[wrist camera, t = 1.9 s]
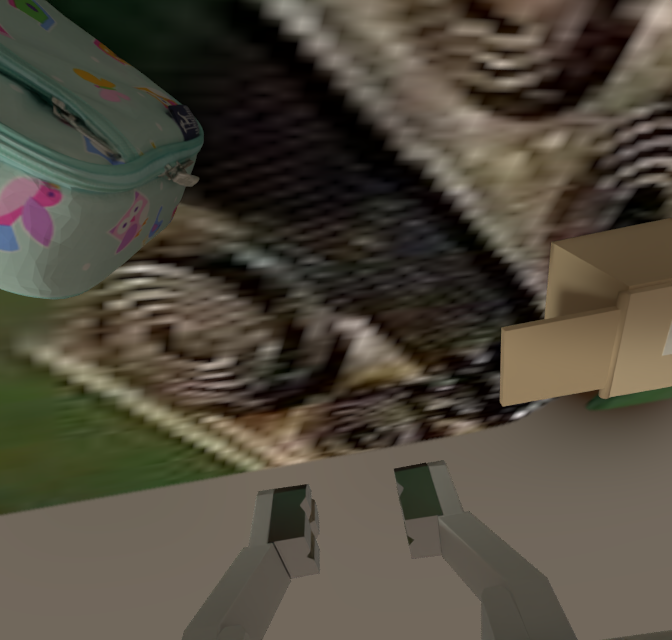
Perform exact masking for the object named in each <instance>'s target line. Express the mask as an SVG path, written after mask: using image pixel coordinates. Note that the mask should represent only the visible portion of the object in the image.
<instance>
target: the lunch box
mask: <svg viewBox="0 0 672 640" xmlns="http://www.w3.org/2000/svg"><path fill="white" fill-rule="evenodd" d="M203 138H204V132H203V129H202V127H201V125H200V123H199V122H198V120H197V119H196V118H195V117H194V115H193V114H192V112H191V111H190V109H189V108H188V107H187V105H182V104H181V103H179V102H178V101H177V100H176V99H175V98H173V97H172V96H171V95H169V94H168V93H167V92H165V91H164V90H163V89H162V88H160V87H159V86H158V85H156V84H155V83H154V82H153V81H151V80H150V79H149V78H148V77H146V76H145V75H144V74H142V73H141V72H140V71H138V70H137V69H135V68H134V67H133V66H131V65H130V64H128V63H127V62H125V61H124V60H122V59H121V58H119V57H118V56H117V55H116V54H114V53H113V52H112V51H111V50H110V49H108V48H107V47H106V46H105V45H103V44H102V43H101V42H100V41H98V40H97V39H95V38H94V37H93V36H91V35H90V34H88V33H87V32H86V31H84V30H83V29H81V28H80V27H79V26H77V25H76V24H75V23H73V22H72V21H70V20H69V19H68V18H66V17H65V16H64V15H62V14H61V13H60V12H59V11H58V10H57V9H55V8H54V7H53V6H52V5H51V4H49V3H48V2H47V1H46V0H0V289H2V290H5V291H8V292H12V293H16V294H19V295H23V296H29V297H35V298H45V299H65V298H69V297H73V296H77V295H80V294H82V293H84V292H86V291H88V290H89V289H91V288H92V287H94V286H95V285H97V284H98V283H100V282H101V281H102V280H104V279H105V278H106V277H107V276H109V275H110V274H111V273H112V272H114V271H115V270H116V269H117V268H119V267H120V266H121V265H122V264H124V263H125V262H126V261H127V260H128V259H129V258H130V257H131V256H133V255H134V254H135V253H136V252H137V251H138V250H139V249H140V248H142V247H143V246H144V245H145V244H146V243H147V242H148V241H150V240H151V239H152V238H154V237H155V236H156V235H157V234H158V233H160V232H161V231H162V230H163V229H164V228H165V227H166V226H167V225H168V224H169V223H170V222H171V220H172V219H173V216H174V214H175V212H176V209H177V206H178V204H179V202H180V201H181V199H182V196H183V193H184V190H185V187H186V186H188V187H192V186H193V185H194V184H196V183H197V182H198V181H199V177H197V176H194V175H190V174H191V172H192V170H193V167H194V164H195V161H196V157H197V153H198V152H199V151H200V149H201V147H202V145H203V142H204V139H203Z"/></svg>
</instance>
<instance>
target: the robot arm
mask: <svg viewBox="0 0 672 640" xmlns="http://www.w3.org/2000/svg"><path fill="white" fill-rule="evenodd" d="M394 474H395V479H396V484H397V490H398V495H399V501H400V506H401V510H402V515H403V520H404V524H405V529H406V534H407V539H408V544H409V548H410V552H411V557H412V559H416V558H423V557H431V556H439V555H442V557H443V558H444V559H445V561H446V562H447V563H448V564H449V565H450V566H451V567H452V568H453V570H454V571H455V572H456V573H457V574H458V576H459V577H460V578H461V579H462V580H463V581H464V582H465V584H466V585H467V586H468V587H469V588H470V589H471V590H472V592H473V593H474V594H475V595H476V596H477V597H478V598H479V600H480V601H481V640H577V638H576V636H575V633H574V631H573V630H572V627H571V625H570V623H569V621H568V619H567V617H566V615H565V613H564V611H563V609H562V607H561V605H560V603H559V601H558V599H557V597H556V595H555V593H554V591H553V589H552V587H551V585H550V583H549V581H548V578H547V577H546V576H545V575H543V574H542V573H541V572H540V571H539V570H538V569H536V568H535V567H534V566H533V565H532V564H530V563H529V562H528V561H527V560H526V559H525V558H523V557H522V556H521V555H520V554H519V553H518V552H516V551H515V550H514V549H513V548H512V547H510V546H509V545H508V544H507V543H506V542H505V541H504V540H502V539H501V538H500V537H499V536H498V535H497V534H495V533H494V532H493V531H492V530H490V529H489V528H488V527H487V526H486V525H485V524H484V523H482V522H481V521H480V520H479V519H478V518H477V517H475V516H474V515H473V514H472V513H471V512H470V511H467V512H464V511H463V508H462V505H461V503H460V500H459V497H458V494H457V492H456V489H455V486H454V484H453V481H452V478H451V475H450V472H449V470H448V467H447V464H446V463H445V461H444V460H441V461H436V462H430V463H427V464H426V463H422V464H416V465H411V466H406V467H401V468H395V469H394ZM318 535H319V517H318V510H317V505H316V502H315V500H313V499H312V498H311V489H310V486H309V484H305V485H298V486H292V487H284V488H278V489H271V490H265V491H259V492H258V495H257V497H256V502H255V509H254V515H253V521H252V527H251V533H250V540H249V546H248V547H245V548H243V549H242V551H241V552H240V553H239V555H238V556H237V558H236V559H235V560H234V562H233V563H232V565H231V566H230V567H229V569H228V570H227V572H226V573H225V574H224V576H223V577H222V579H221V580H220V581H219V583H218V584H217V586H216V587H215V588H214V590H213V591H212V593H211V594H210V596H209V597H208V598H207V600H206V601H205V603H204V604H203V605H202V607H201V608H200V609H199V611H198V612H197V614H196V615H195V616H194V618H193V619H192V621H191V622H190V623H189V625H188V626H187V628H186V629H185V630H184V633H183V637H182V640H262V639H263V637H264V635H265V633H266V631H267V629H268V627H269V625H270V623H271V621H272V618H273V616H274V614H275V612H276V610H277V608H278V606H279V604H280V602H281V600H282V598H283V596H284V594H285V592H286V590H287V588H288V586H289V584H290V582H291V580H290V579H291V578H297V577H303V576H307V575H313V574H319V572H320V563H319V562H320V549H319V546H318V543H317V541H316V538H317V537H318ZM604 640H672V630H669V631H661V632H654V633H647V634H641V635H633V636H625V637H618V638H611V639H604Z"/></svg>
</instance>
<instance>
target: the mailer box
mask: <svg viewBox="0 0 672 640" xmlns="http://www.w3.org/2000/svg"><path fill="white" fill-rule="evenodd" d="M669 282H672V218H668V219H663V220H658V221H653V222H648V223H643V224H638V225H633V226H628V227H623V228H618V229H614V230H609V231H604V232H599V233H594V234H589V235H584V236H579V237H574V238H569V239H564V240H559V241H554V242H551V251H550V263H549V274H548V286H547V297H546V308H545V319H549V318H554V317H559V316H565V315H570V314H575V313H580V312H586V311H591V310H596V309H601V308H607V307H612V306H616V301H617V296H618V292H619V291H627V290H632V289H638V288H643V287H648V286H653V285H658V284H664V283H669Z"/></svg>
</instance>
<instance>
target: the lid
mask: <svg viewBox="0 0 672 640" xmlns="http://www.w3.org/2000/svg"><path fill="white" fill-rule="evenodd" d="M670 386H672V282H669V283H664V284H658V285H653V286H648V287H643V288H638V289H632V290H627V291H619V292H618V296H617V301H616V306H612V307H607V308H601V309H596V310H591V311H586V312H580V313H575V314H570V315H565V316H559V317H554V318H549V319H544V320H538V321H533V322H528V323H523V324H518V325H512V326H507V327H502V332H501V377H500V403H501V404H502V406H508V405H514V404H519V403H525V402H530V401H536V400H542V399H547V398H553V397H558V396H564V395H570V394H575V393H581V392H586V391H592V390H597V389H599V397H601V398H604V399H607V398H609V397H614V396H619V395H625V394H630V393H636V392H642V391H647V390H653V389H659V388H664V387H670Z"/></svg>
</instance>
